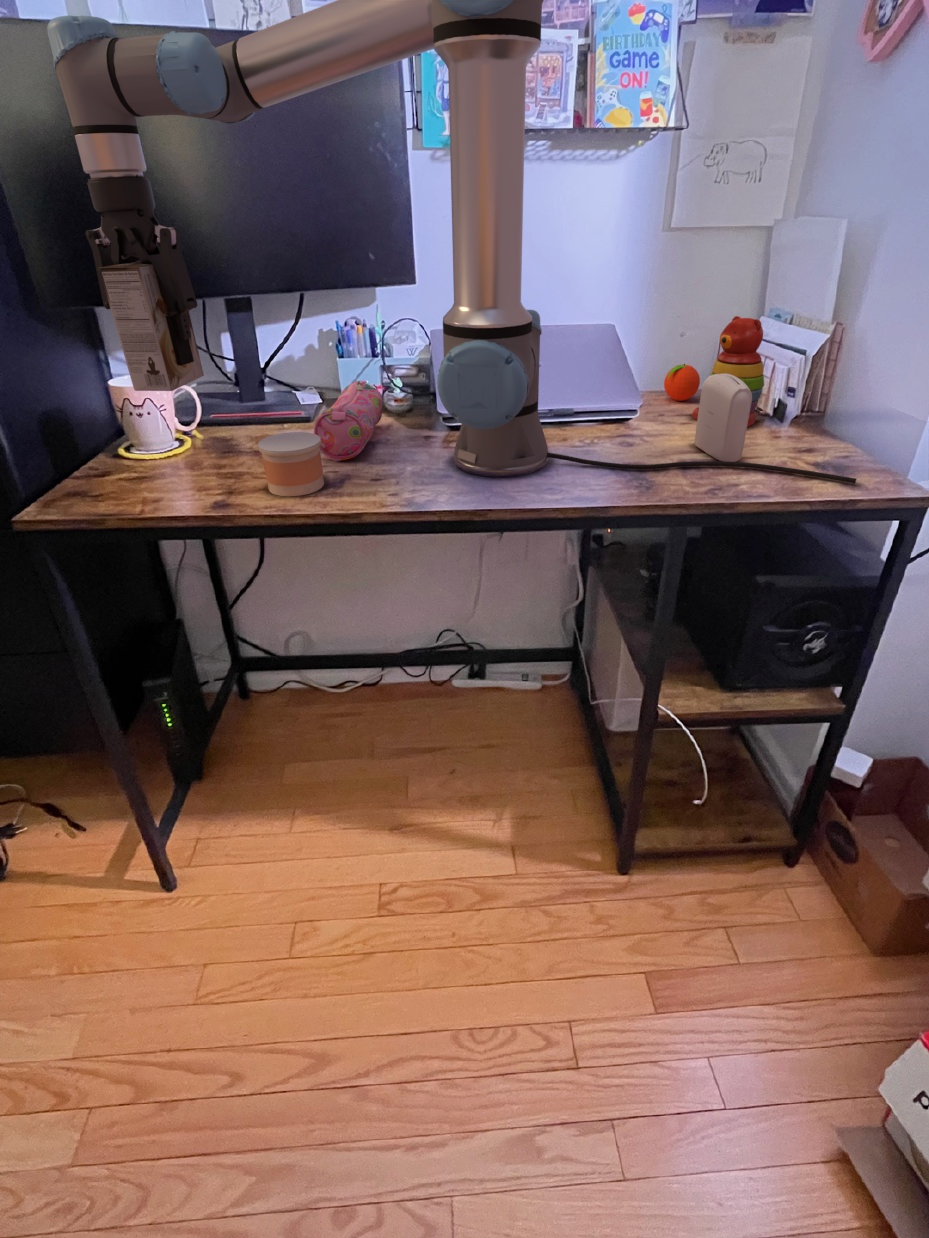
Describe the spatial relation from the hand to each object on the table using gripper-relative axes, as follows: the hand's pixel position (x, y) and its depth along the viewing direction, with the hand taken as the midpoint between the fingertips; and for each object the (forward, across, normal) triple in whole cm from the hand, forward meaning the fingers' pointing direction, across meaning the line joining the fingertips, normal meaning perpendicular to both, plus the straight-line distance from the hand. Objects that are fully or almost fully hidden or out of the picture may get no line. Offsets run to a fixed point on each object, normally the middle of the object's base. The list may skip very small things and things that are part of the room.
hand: (164, 362), depth 102 cm
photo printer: (+19, -78, -34) cm, 87 cm away
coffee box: (+3, 0, 0) cm, 3 cm away
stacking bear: (+19, -78, -53) cm, 97 cm away
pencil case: (+18, -16, -23) cm, 34 cm away
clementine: (+19, -68, -65) cm, 96 cm away
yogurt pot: (+18, -18, -2) cm, 25 cm away
